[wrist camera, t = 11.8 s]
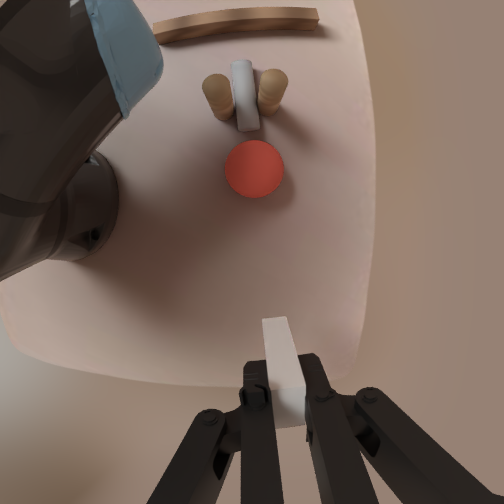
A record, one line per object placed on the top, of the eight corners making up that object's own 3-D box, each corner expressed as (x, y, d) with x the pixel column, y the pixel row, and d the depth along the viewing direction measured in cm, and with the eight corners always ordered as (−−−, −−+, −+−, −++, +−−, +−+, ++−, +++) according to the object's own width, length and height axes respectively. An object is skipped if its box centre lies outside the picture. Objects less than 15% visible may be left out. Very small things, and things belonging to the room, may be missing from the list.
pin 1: (214, 121, 29) (203, 99, 20) (212, 103, 28) (201, 76, 20) (235, 119, 29) (231, 95, 20) (233, 100, 28) (228, 72, 20)
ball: (221, 139, 28) (228, 189, 31) (220, 150, 23) (229, 210, 26) (276, 133, 28) (279, 183, 31) (287, 143, 23) (290, 203, 26)
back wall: (159, 44, 26) (152, 34, 23) (159, 34, 25) (153, 23, 22) (314, 30, 25) (319, 19, 23) (311, 19, 25) (316, 8, 22)
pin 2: (257, 116, 29) (262, 92, 20) (255, 98, 28) (258, 69, 20) (278, 115, 28) (289, 91, 20) (276, 97, 28) (286, 68, 20)
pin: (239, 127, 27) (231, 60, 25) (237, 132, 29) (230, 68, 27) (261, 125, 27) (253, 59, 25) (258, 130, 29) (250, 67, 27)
